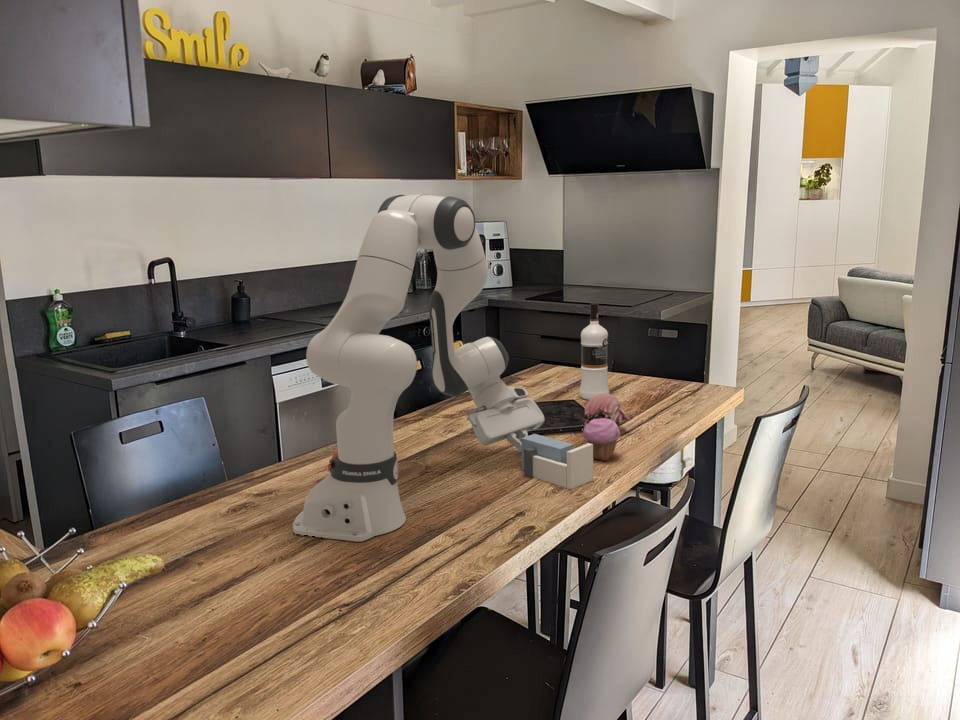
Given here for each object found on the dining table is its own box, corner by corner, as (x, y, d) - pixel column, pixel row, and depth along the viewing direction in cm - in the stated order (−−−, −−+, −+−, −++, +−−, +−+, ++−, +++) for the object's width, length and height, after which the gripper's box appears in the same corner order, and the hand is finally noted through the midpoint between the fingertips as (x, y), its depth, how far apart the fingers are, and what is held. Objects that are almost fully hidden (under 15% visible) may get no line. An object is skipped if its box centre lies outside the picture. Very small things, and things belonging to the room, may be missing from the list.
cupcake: (577, 459, 191) (576, 420, 189) (594, 449, 198) (594, 411, 196) (609, 466, 186) (610, 426, 184) (626, 456, 193) (626, 417, 191)
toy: (628, 438, 201) (638, 419, 215) (615, 400, 200) (626, 383, 213) (585, 448, 206) (597, 429, 220) (572, 410, 205) (585, 393, 218)
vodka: (591, 392, 254) (591, 300, 247) (615, 396, 247) (615, 302, 241) (573, 397, 247) (573, 303, 241) (597, 402, 241) (597, 306, 235)
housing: (524, 475, 181) (523, 440, 180) (550, 465, 188) (550, 431, 186) (568, 490, 172) (568, 453, 170) (595, 479, 178) (595, 443, 176)
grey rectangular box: (522, 469, 185) (521, 438, 183) (534, 464, 188) (534, 433, 186) (560, 482, 176) (560, 449, 175) (573, 476, 179) (573, 444, 178)
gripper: (470, 404, 182) (501, 453, 177) (530, 387, 196) (560, 432, 191) (458, 419, 186) (488, 467, 181) (517, 401, 200) (547, 446, 195)
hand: (525, 449), depth 186 cm, fingers closed, pressing on grey rectangular box
